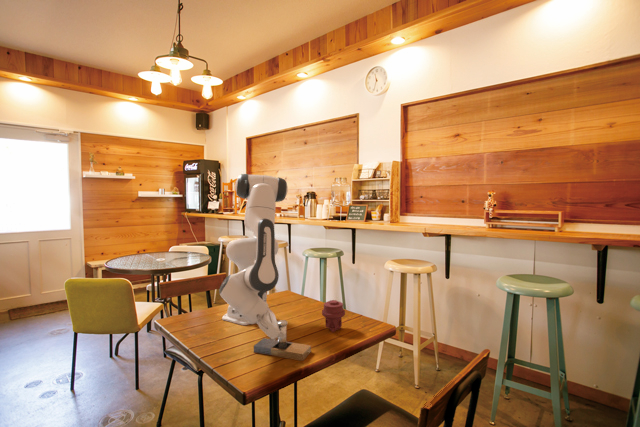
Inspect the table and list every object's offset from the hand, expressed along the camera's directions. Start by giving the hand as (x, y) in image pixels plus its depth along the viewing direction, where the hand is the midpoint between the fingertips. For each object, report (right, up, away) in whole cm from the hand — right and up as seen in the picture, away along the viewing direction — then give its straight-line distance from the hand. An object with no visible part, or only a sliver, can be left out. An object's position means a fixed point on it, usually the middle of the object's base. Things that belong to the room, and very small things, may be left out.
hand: (283, 334), depth 124 cm
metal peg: (-1, -5, 0) cm, 5 cm away
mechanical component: (+19, -6, +21) cm, 29 cm away
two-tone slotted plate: (-1, -6, 0) cm, 6 cm away
